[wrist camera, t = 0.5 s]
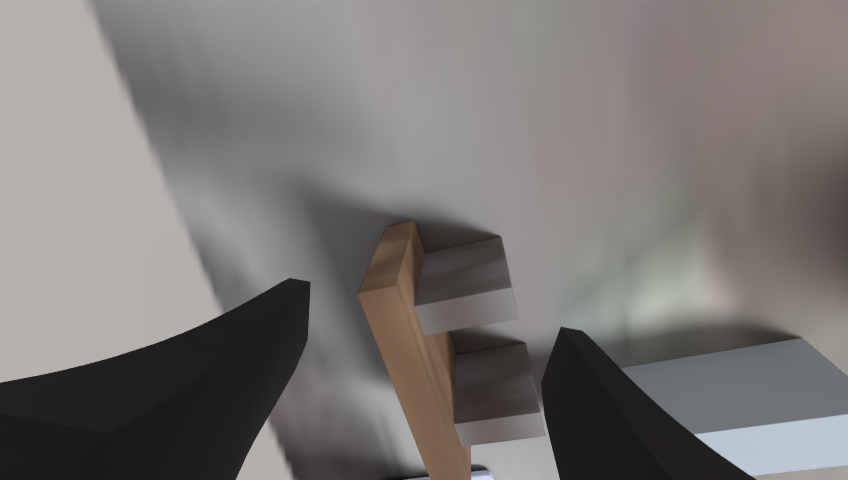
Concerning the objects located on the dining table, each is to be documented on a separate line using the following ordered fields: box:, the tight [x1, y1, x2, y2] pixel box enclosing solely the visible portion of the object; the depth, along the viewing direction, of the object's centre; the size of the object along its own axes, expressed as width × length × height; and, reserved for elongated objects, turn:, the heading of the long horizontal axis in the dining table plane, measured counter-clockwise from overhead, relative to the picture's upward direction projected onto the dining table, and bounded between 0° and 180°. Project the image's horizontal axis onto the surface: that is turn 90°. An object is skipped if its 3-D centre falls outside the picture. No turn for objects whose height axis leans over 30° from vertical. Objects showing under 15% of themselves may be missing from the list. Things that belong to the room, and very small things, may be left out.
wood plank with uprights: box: [357, 220, 546, 480], centre depth 20 cm, size 6×12×6 cm, turn 16°
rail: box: [620, 338, 848, 476], centre depth 22 cm, size 3×12×5 cm, turn 107°
